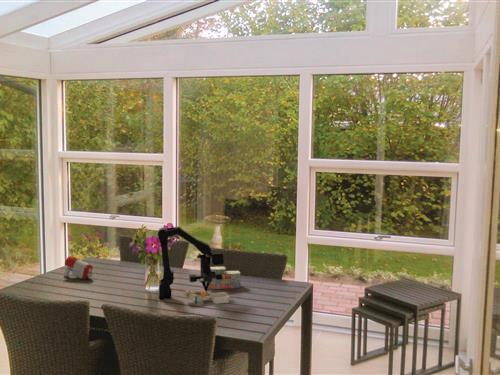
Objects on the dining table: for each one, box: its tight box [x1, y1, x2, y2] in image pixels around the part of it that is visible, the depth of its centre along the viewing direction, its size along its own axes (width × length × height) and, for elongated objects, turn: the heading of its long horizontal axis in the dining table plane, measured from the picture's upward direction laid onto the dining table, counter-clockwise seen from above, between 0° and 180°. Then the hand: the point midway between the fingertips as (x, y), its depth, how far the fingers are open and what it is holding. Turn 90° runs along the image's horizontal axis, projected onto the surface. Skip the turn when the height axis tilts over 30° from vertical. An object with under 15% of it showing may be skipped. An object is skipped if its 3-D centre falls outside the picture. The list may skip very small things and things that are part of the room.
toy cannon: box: [63, 255, 94, 281], centre depth 327 cm, size 6×20×14 cm, turn 69°
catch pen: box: [210, 291, 230, 305], centre depth 290 cm, size 9×9×3 cm
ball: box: [199, 289, 208, 296], centre depth 287 cm, size 4×4×4 cm
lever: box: [184, 288, 212, 302], centre depth 290 cm, size 14×14×3 cm
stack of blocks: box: [205, 266, 241, 290], centre depth 315 cm, size 21×6×12 cm, turn 102°
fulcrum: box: [191, 296, 205, 306], centre depth 287 cm, size 5×9×4 cm, turn 16°
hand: (205, 291), depth 297 cm, fingers closed, pressing on lever
